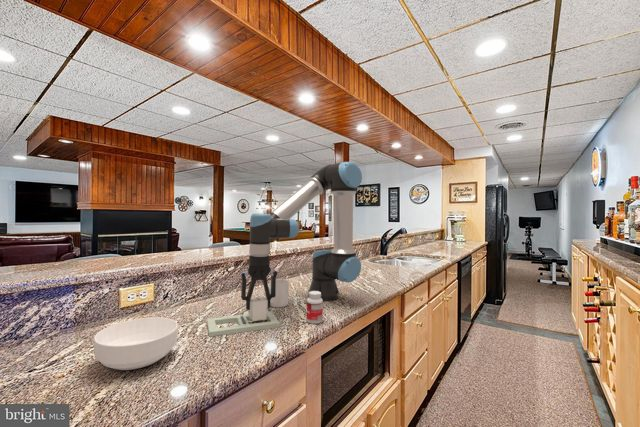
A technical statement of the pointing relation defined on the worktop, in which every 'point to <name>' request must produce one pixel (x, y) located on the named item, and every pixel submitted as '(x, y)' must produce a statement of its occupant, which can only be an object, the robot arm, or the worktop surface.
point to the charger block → (259, 308)
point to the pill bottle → (314, 307)
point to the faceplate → (242, 323)
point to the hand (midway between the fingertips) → (257, 317)
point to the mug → (280, 293)
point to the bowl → (135, 342)
